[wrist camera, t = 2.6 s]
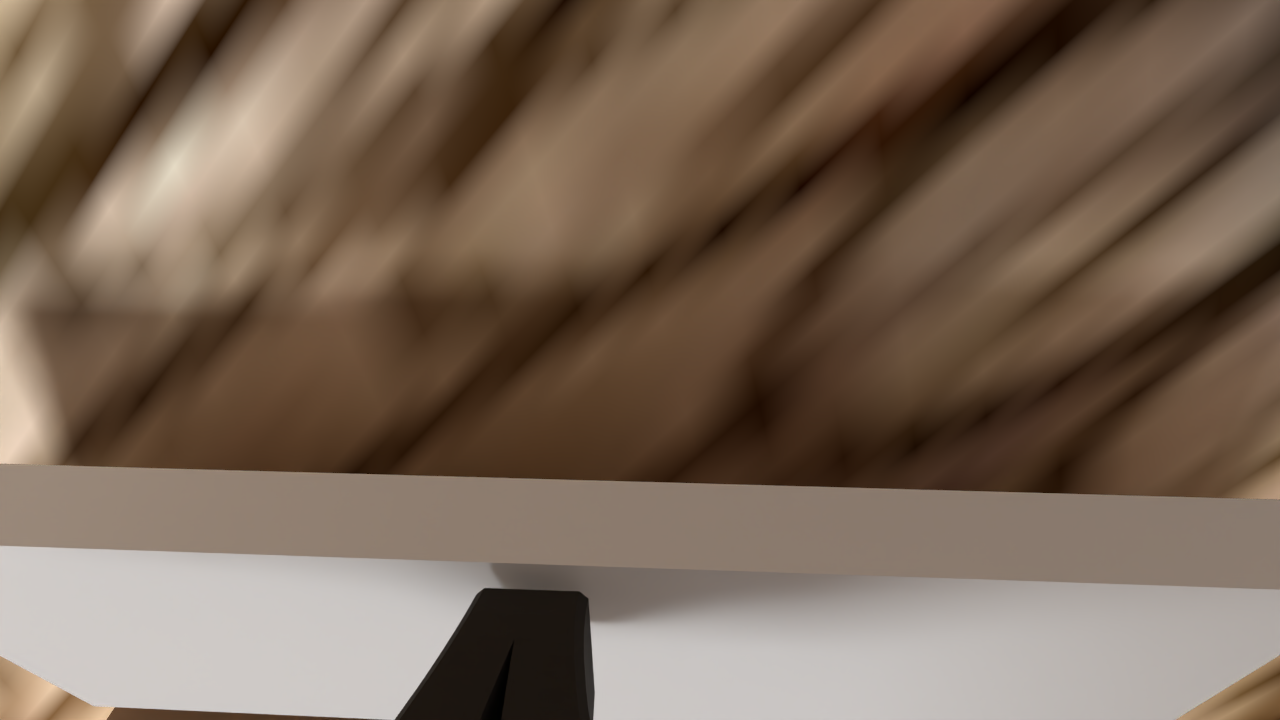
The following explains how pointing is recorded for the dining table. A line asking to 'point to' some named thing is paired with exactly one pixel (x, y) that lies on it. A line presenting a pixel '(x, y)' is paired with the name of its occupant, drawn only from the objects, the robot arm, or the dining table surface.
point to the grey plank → (635, 592)
